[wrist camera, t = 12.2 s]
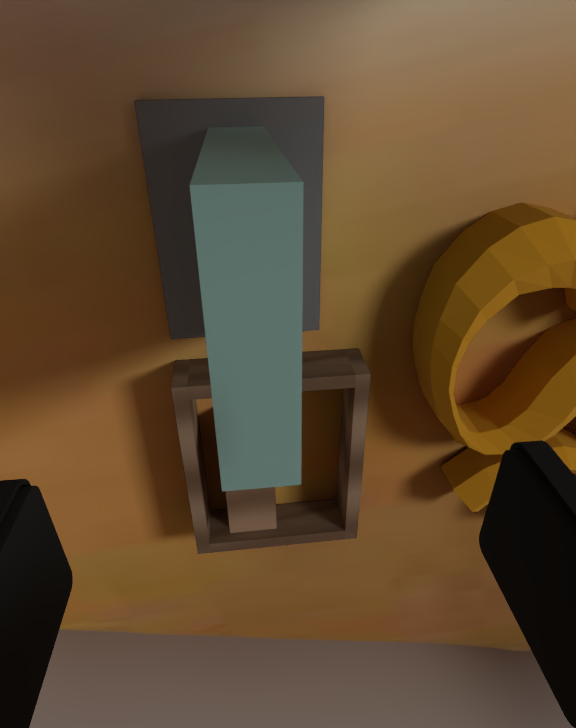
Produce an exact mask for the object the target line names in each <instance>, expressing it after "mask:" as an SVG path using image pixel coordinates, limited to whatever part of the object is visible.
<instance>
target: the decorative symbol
mask: <svg viewBox="0 0 576 728" xmlns="http://www.w3.org/2000/svg"><path fill="white" fill-rule="evenodd" d="M549 288H564V290H565V297H566V304H567V306H568V307H570V308H571V309H572V310H574V311H575V312H576V219H575V218H573V217H570V216H568V215H566V214H563V213H561V212H558V211H556V210H554V209H551V208H548V207H543V206H538V205H533V204H527V203H518V204H515V205H512V206H508V207H505V208H501V209H498V210H494V211H491V212H490V213H488V214H487V215H485V216H484V217H482V218H481V219H480V220H478V221H477V222H475V223H474V224H472V225H471V226H469V227H468V228H466V229H465V230H464V231H462V232H461V233H460V234H459V236H458V237H457V238H456V239H455V240H454V241H453V243H452V244H451V245H450V246H449V247H448V248H447V249H446V251H445V252H444V253H443V254H442V255H441V256H440V257H439V259H438V260H437V261H436V262H435V263H434V265H433V267H432V270H431V272H430V275H429V277H428V280H427V282H426V284H425V287H424V289H423V292H422V294H421V297H420V300H419V304H418V308H417V312H416V316H415V319H414V330H413V341H412V342H413V352H414V362H415V366H416V371H417V375H418V380H419V384H420V389H421V392H422V393H423V395H424V396H425V398H426V400H427V401H428V403H429V405H430V406H431V408H432V409H433V411H434V413H435V414H436V416H437V418H438V419H439V420H440V421H441V423H442V424H443V425H444V426H445V428H446V429H447V430H448V431H449V432H450V434H451V435H452V436H453V437H454V439H455V440H456V441H457V442H459V443H461V444H463V445H465V446H467V447H468V448H467V449H465V450H464V451H462V452H461V453H460V454H458V455H457V456H455V457H454V458H452V459H451V460H449V461H448V462H446V463H445V464H443V465H442V466H440V467H441V468H442V470H443V472H444V474H445V476H446V478H447V479H448V481H449V483H450V485H451V487H452V489H453V490H454V491H455V492H456V494H457V495H458V496H459V497H460V498H461V499H462V501H463V502H464V503H465V504H466V505H467V506H468V508H469V509H470V510H471V511H472V512H478V511H480V510H481V509H482V508H483V507H485V506H486V505H487V504H488V503H489V500H490V497H491V493H492V490H493V486H494V483H495V480H496V476H497V473H498V469H499V466H500V462H501V459H502V456H503V453H504V452H505V451H506V450H510V447H511V445H512V444H513V443H515V442H527V441H540V440H542V441H545V442H547V443H548V444H549V445H550V446H551V447H552V449H553V450H554V451H555V452H556V454H557V455H558V456H559V457H560V458H561V460H562V461H563V462H564V463H565V464H566V466H567V467H568V468H569V469H570V471H571V472H572V473H573V474H576V435H574V434H572V433H571V432H569V431H567V430H566V429H563V427H564V426H565V425H567V424H568V423H569V422H570V421H571V420H572V419H573V418H574V417H575V416H576V319H570V320H568V321H565V322H563V323H560V324H558V325H555V326H553V327H550V328H548V329H547V330H546V331H545V332H544V333H543V334H542V335H541V336H540V338H539V339H538V340H537V341H536V342H535V343H534V344H533V345H532V346H531V347H530V348H529V349H528V350H527V351H526V352H525V353H524V355H523V356H522V357H521V359H520V360H519V361H518V363H517V364H516V365H515V367H514V368H513V370H512V371H511V372H510V374H509V375H508V376H507V378H506V379H505V380H504V382H503V383H502V384H501V385H499V386H498V387H497V388H496V389H495V390H493V391H492V392H491V393H490V394H489V395H487V396H486V397H484V398H482V399H480V400H478V401H475V402H470V403H465V404H461V405H458V404H456V403H455V399H454V395H453V393H454V386H455V379H456V372H457V368H458V366H459V363H460V361H461V359H462V357H463V355H464V353H465V351H466V349H467V346H468V344H469V342H470V341H471V340H472V339H473V337H474V336H475V335H476V334H477V332H478V331H479V330H480V329H481V328H482V326H483V325H484V324H485V323H486V321H487V320H489V319H490V318H491V317H492V316H493V315H495V314H496V313H497V312H498V311H500V310H501V309H502V308H503V307H505V306H506V305H507V304H508V303H509V302H511V301H512V300H513V299H514V298H516V297H517V296H518V295H520V294H525V293H530V292H535V291H540V290H544V289H549Z"/></svg>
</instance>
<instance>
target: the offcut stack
mask: <svg viewBox="0 0 576 728" xmlns="http://www.w3.org/2000/svg"><path fill="white" fill-rule="evenodd" d="M226 499H227V508H228V518H229V527H230V533H236V532H246V531H256V530H267V529H277V525H276V499H275V487H269V488H257V489H245V490H234V491H226Z"/></svg>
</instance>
